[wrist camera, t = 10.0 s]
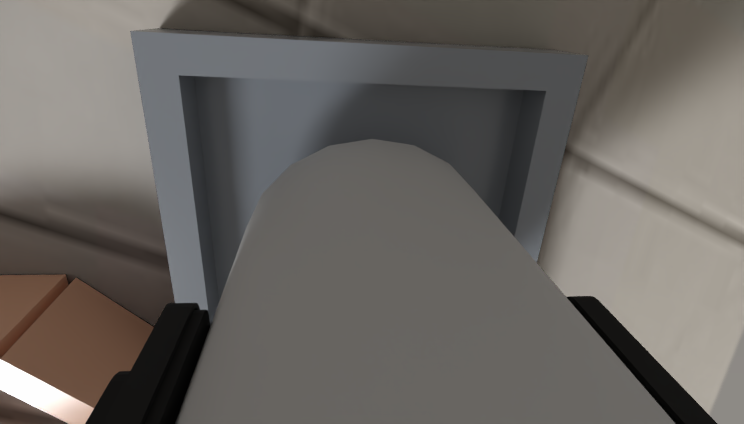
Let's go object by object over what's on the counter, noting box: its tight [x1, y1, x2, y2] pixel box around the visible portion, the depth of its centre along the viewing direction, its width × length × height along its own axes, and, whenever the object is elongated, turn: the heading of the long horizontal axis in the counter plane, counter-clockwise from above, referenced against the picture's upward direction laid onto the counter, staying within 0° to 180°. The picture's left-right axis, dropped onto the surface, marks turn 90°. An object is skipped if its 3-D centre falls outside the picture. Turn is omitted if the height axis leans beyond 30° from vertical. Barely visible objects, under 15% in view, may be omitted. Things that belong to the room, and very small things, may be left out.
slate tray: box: [130, 28, 588, 326], centre depth 15 cm, size 12×12×2 cm
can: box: [175, 139, 675, 424], centre depth 9 cm, size 8×8×12 cm
